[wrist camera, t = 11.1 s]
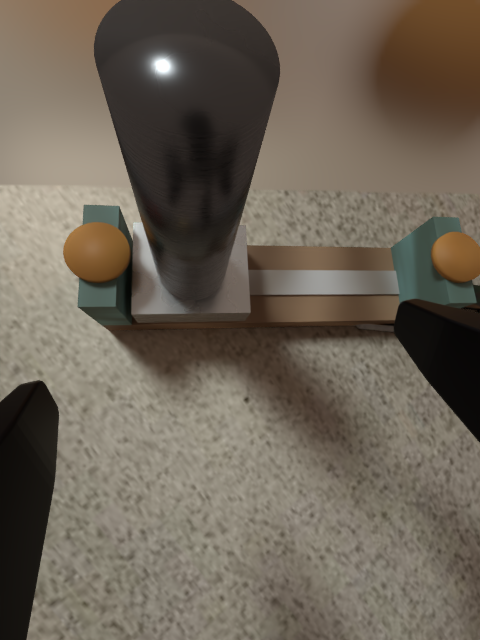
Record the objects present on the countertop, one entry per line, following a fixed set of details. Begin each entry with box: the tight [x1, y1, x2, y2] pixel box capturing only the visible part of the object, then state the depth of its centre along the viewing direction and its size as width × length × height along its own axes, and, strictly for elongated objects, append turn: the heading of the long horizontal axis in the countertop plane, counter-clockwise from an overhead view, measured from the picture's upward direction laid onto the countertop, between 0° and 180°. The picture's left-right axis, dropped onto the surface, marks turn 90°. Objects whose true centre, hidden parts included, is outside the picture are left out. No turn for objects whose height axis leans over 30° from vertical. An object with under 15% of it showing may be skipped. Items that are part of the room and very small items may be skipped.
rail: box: [63, 205, 480, 330], centre depth 19 cm, size 21×5×6 cm, turn 93°
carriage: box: [94, 0, 280, 323], centre depth 13 cm, size 6×5×13 cm
